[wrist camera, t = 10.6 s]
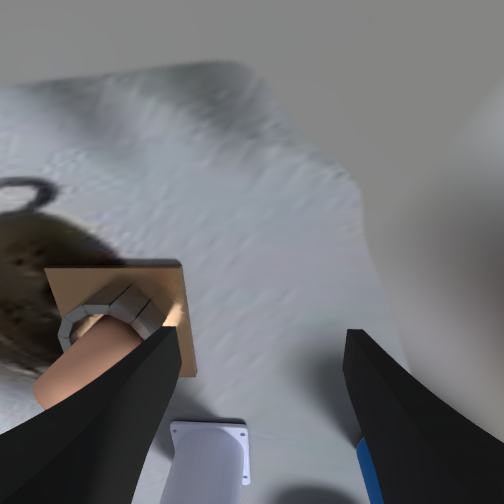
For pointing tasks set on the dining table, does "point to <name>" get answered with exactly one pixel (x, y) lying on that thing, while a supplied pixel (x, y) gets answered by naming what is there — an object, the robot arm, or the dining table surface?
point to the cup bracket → (123, 301)
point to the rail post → (86, 360)
